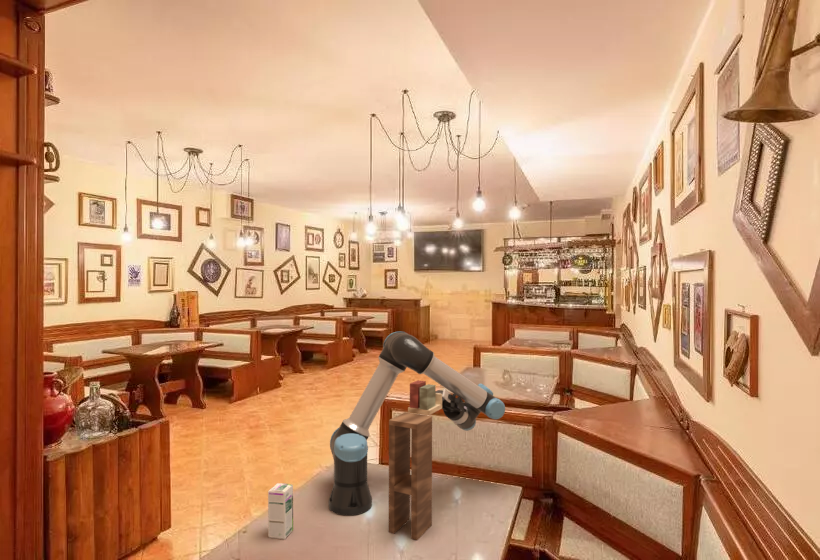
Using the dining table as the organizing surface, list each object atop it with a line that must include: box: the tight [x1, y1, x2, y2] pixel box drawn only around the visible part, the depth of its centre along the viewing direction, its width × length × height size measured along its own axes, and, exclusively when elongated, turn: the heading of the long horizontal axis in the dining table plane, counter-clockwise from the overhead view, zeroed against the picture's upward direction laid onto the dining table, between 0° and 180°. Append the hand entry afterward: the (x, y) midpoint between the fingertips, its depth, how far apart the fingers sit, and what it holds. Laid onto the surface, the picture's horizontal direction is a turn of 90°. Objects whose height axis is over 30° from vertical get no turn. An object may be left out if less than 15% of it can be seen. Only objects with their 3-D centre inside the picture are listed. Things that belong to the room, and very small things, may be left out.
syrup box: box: [267, 482, 294, 540], centre depth 146 cm, size 6×6×14 cm
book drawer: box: [407, 379, 445, 416], centre depth 163 cm, size 8×19×10 cm, turn 152°
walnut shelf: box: [388, 412, 433, 541], centre depth 150 cm, size 10×10×35 cm
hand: (433, 391), depth 165 cm, fingers open, 7 cm apart
